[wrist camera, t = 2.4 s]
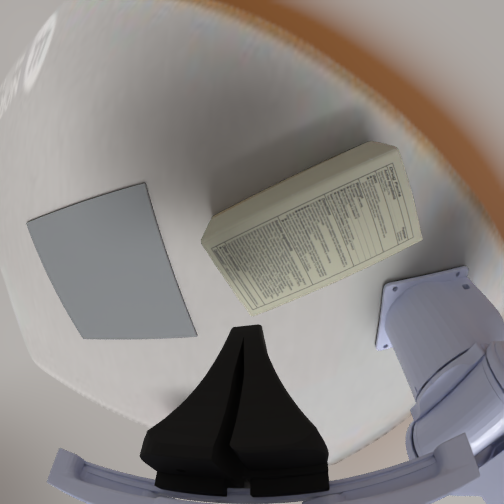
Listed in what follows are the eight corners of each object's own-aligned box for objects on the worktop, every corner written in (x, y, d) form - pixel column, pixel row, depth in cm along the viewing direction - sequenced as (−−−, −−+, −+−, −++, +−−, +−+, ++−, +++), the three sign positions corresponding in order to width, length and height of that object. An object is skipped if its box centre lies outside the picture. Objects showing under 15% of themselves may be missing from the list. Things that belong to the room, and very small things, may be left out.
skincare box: (251, 283, 21) (396, 218, 19) (249, 321, 17) (425, 243, 15) (209, 213, 19) (369, 138, 16) (196, 240, 15) (400, 145, 12)
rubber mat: (145, 182, 18) (144, 183, 18) (197, 335, 24) (197, 336, 24) (27, 222, 19) (26, 223, 19) (83, 337, 25) (83, 338, 25)
